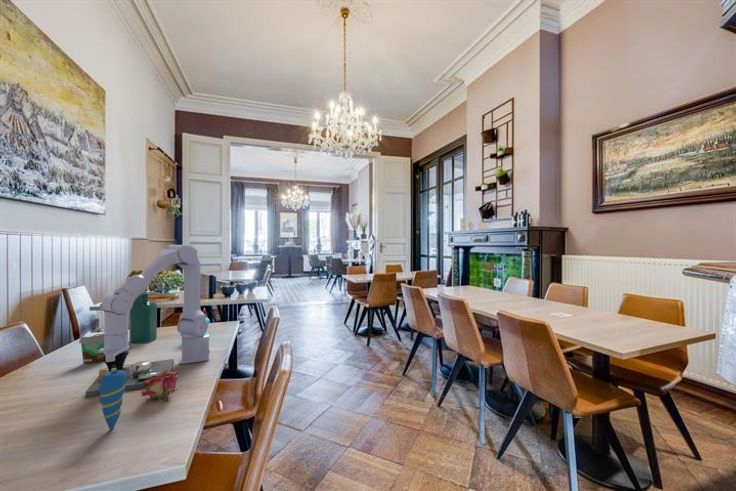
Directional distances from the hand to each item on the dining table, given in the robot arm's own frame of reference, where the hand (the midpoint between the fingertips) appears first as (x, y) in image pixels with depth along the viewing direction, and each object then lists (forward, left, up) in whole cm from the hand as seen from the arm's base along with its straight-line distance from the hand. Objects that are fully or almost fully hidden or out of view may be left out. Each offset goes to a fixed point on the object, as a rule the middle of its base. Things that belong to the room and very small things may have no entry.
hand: (116, 377), depth 98 cm
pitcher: (+1, -52, -3) cm, 52 cm away
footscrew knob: (-2, -4, -1) cm, 5 cm away
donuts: (-21, -42, -3) cm, 47 cm away
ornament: (-5, +28, -3) cm, 28 cm away
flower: (-13, +15, -3) cm, 20 cm away
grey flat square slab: (-4, -5, -3) cm, 7 cm away
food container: (+10, -30, -3) cm, 32 cm away
